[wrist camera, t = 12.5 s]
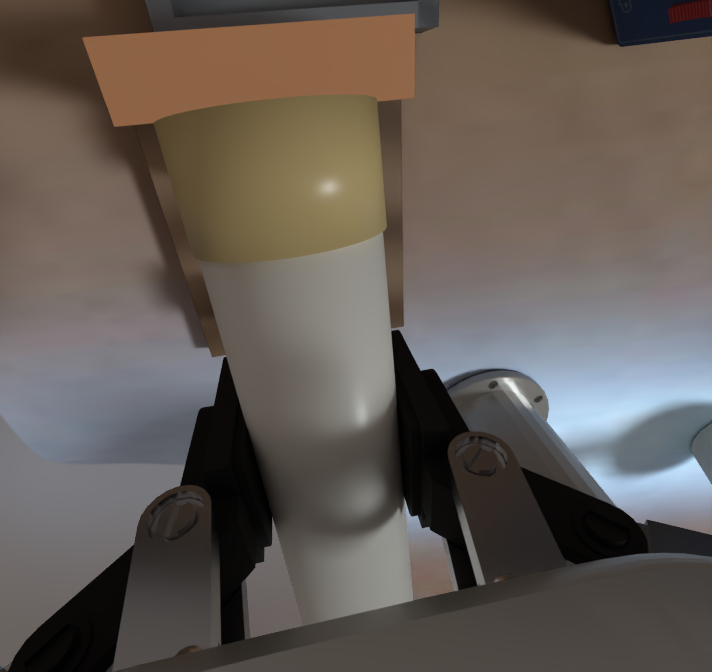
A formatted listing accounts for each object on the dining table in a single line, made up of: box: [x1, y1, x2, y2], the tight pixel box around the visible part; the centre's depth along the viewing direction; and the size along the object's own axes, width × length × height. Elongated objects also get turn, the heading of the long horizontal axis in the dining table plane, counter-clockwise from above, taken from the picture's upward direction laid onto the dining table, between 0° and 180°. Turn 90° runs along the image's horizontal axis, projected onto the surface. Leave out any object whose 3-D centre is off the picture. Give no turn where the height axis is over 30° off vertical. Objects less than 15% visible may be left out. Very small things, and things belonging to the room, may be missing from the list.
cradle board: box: [134, 99, 404, 357], centre depth 23 cm, size 17×14×6 cm
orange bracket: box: [82, 13, 415, 127], centre depth 16 cm, size 2×10×8 cm, turn 94°
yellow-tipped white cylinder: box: [154, 94, 413, 626], centre depth 9 cm, size 14×4×4 cm, turn 5°
